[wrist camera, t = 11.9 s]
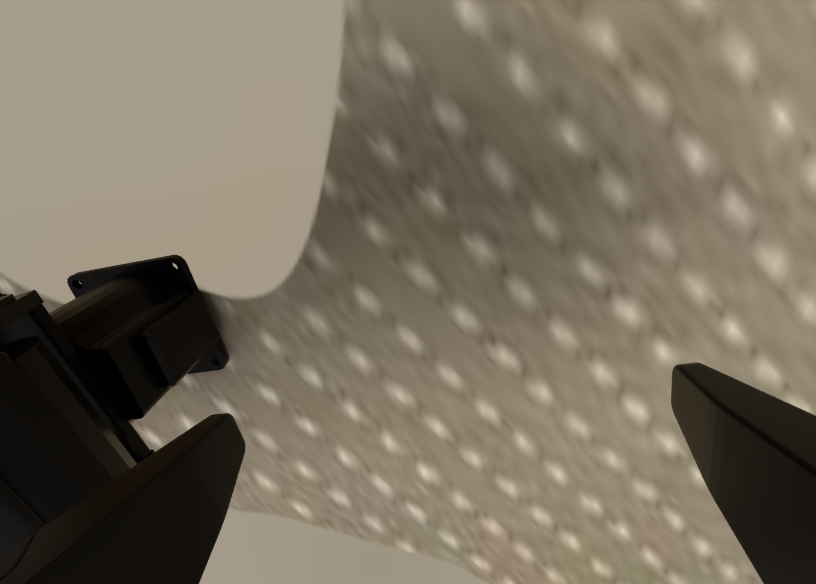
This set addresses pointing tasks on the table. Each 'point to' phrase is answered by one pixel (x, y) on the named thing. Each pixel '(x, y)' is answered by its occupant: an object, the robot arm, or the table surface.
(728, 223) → the table surface
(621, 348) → the table surface
